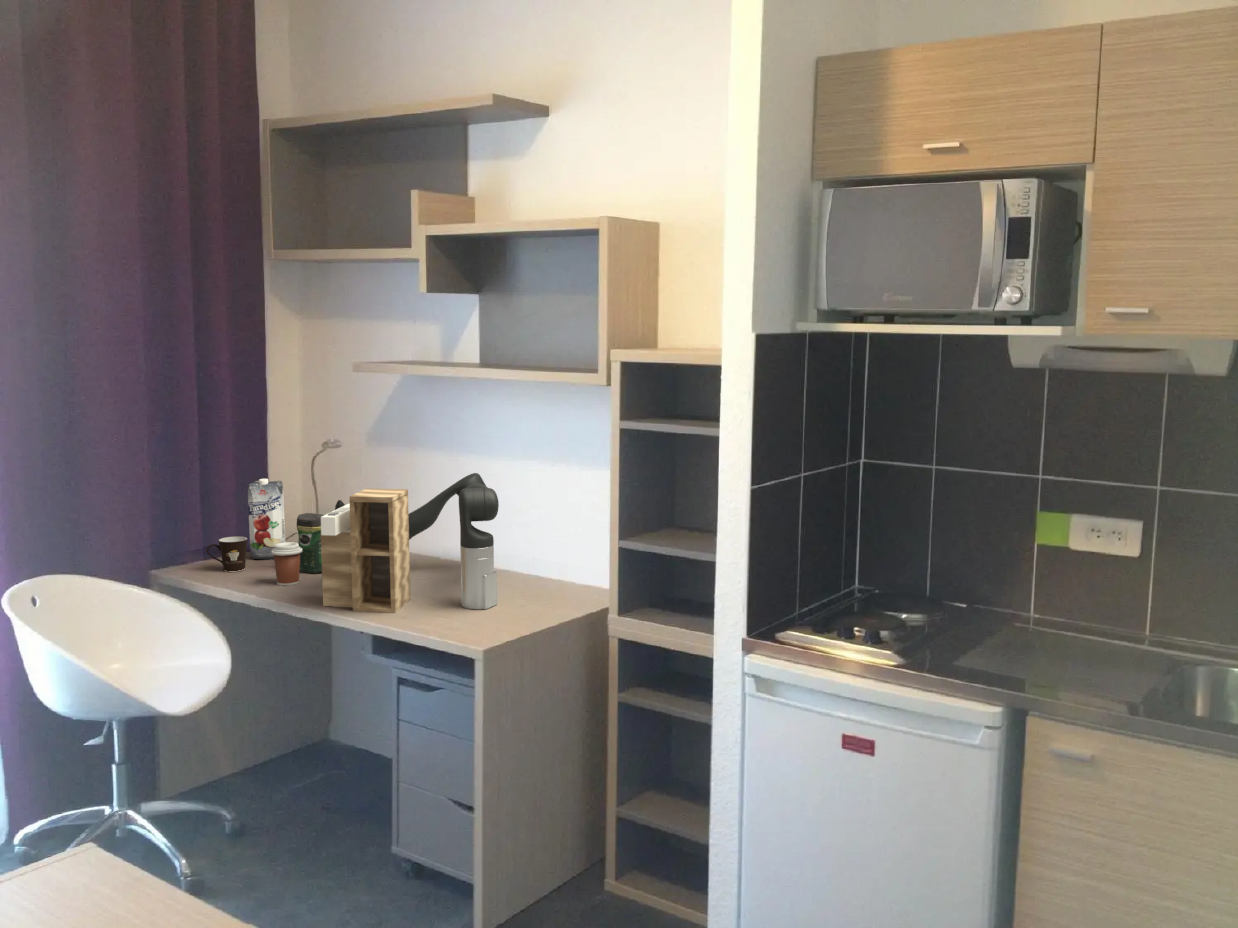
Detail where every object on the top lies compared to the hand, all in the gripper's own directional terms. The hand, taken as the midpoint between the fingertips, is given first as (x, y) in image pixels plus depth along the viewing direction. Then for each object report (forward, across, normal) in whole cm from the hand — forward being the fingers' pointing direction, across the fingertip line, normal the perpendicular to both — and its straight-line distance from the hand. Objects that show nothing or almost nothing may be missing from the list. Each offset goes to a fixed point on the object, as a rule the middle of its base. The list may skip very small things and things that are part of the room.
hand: (353, 503), depth 313 cm
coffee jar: (-37, -23, +10) cm, 45 cm away
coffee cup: (-23, -25, +18) cm, 39 cm away
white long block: (+4, 0, +9) cm, 10 cm away
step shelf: (-5, +7, +28) cm, 29 cm away
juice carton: (-52, -46, +1) cm, 69 cm away
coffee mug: (-36, -51, +11) cm, 63 cm away
